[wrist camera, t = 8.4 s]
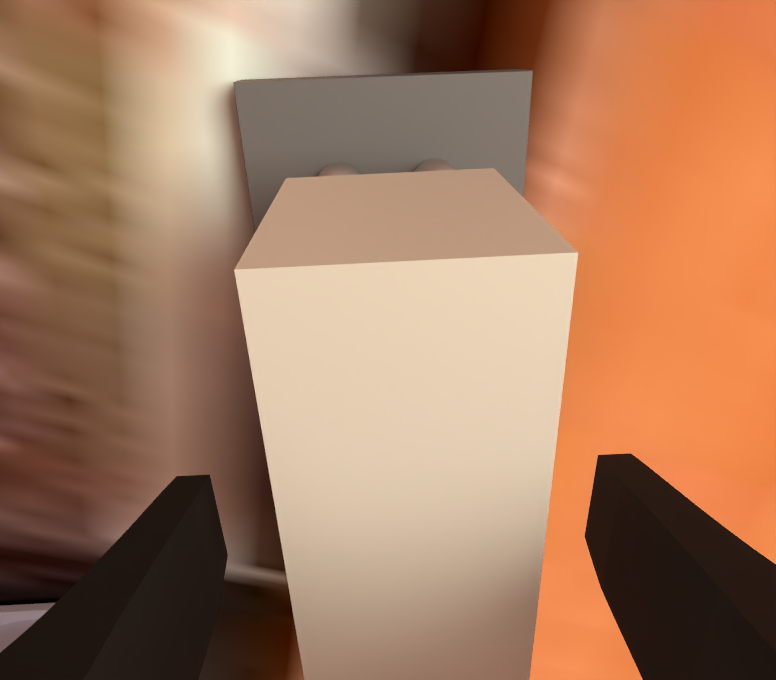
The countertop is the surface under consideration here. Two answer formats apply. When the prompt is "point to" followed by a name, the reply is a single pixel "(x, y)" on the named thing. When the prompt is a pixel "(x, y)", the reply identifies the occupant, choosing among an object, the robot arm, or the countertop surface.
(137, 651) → the robot arm
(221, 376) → the countertop surface
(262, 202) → the peg stand
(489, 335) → the beige rectangular block
